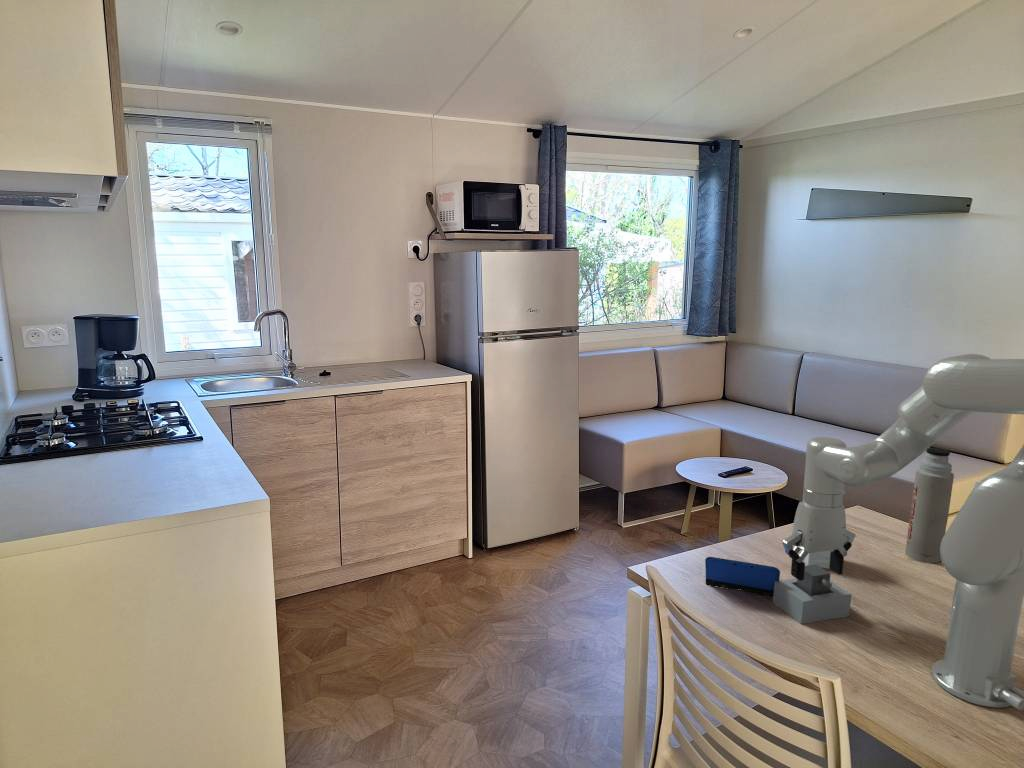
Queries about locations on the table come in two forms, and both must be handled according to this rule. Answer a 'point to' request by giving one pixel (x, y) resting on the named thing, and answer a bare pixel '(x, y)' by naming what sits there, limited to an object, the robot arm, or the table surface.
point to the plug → (815, 581)
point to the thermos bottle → (930, 506)
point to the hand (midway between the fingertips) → (816, 574)
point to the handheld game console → (741, 576)
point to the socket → (811, 602)
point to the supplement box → (819, 559)
